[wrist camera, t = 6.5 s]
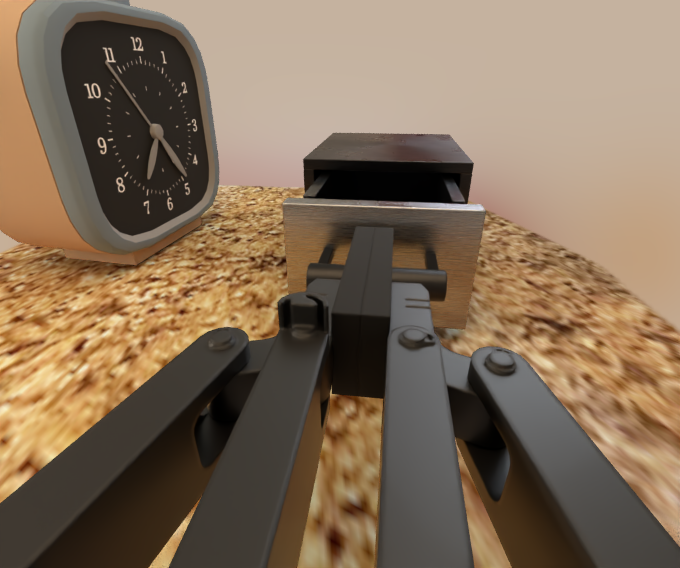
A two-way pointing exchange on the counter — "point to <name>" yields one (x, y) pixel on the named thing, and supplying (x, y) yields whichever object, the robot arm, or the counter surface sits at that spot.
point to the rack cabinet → (390, 156)
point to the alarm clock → (102, 129)
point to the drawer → (408, 238)
